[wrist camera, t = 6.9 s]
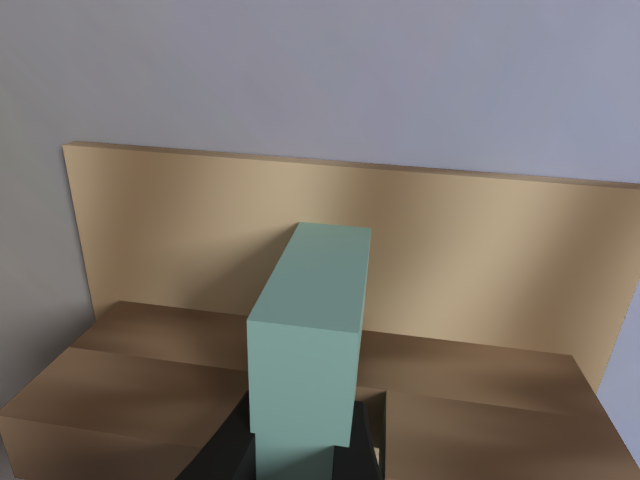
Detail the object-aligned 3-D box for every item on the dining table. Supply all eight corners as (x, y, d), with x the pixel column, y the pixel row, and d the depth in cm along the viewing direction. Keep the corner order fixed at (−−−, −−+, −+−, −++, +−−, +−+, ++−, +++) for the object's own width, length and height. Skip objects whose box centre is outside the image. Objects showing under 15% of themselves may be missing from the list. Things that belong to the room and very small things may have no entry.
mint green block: (371, 228, 12) (358, 333, 8) (350, 462, 16) (333, 629, 11) (300, 221, 12) (246, 320, 8) (295, 454, 16) (256, 614, 11)
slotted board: (657, 185, 11) (879, 296, 6) (543, 505, 16) (613, 718, 11) (75, 140, 13) (-125, 197, 8) (128, 439, 18) (24, 593, 13)
